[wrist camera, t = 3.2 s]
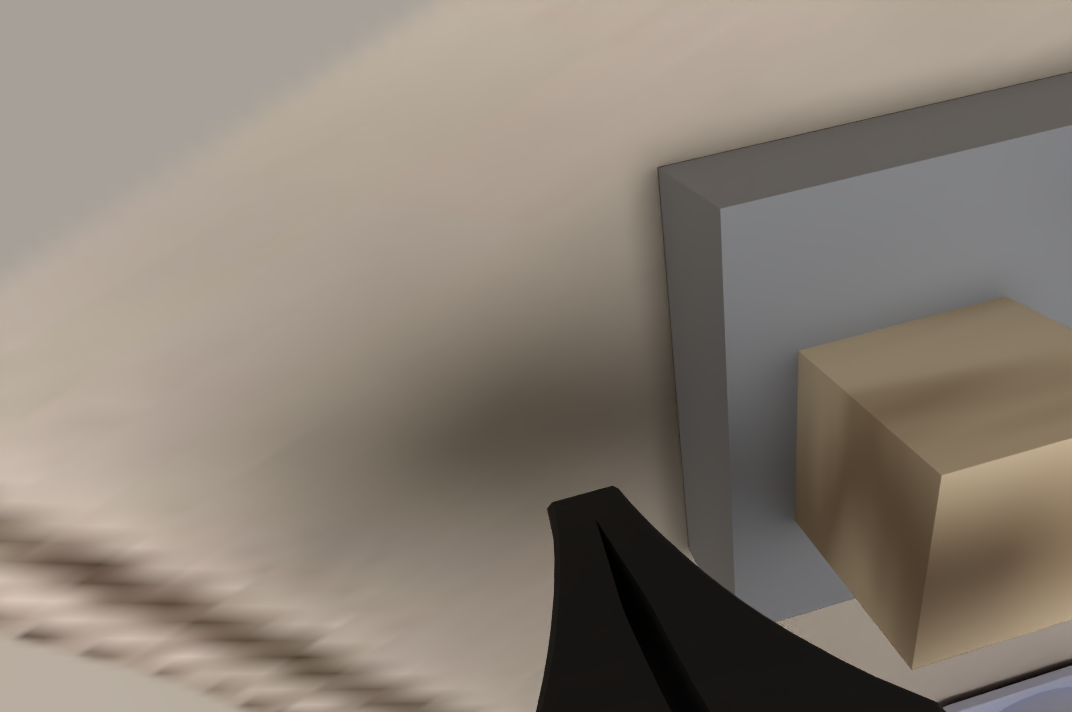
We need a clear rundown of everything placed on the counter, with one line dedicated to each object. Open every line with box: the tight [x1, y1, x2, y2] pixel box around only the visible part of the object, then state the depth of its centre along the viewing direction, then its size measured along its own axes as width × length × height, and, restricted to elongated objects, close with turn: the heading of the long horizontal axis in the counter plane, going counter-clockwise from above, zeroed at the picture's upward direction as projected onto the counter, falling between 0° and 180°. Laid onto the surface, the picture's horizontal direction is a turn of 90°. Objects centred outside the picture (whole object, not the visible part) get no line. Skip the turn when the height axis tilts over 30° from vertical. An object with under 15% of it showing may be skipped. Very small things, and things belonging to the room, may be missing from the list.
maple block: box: [795, 296, 1072, 670], centre depth 13 cm, size 4×4×4 cm
